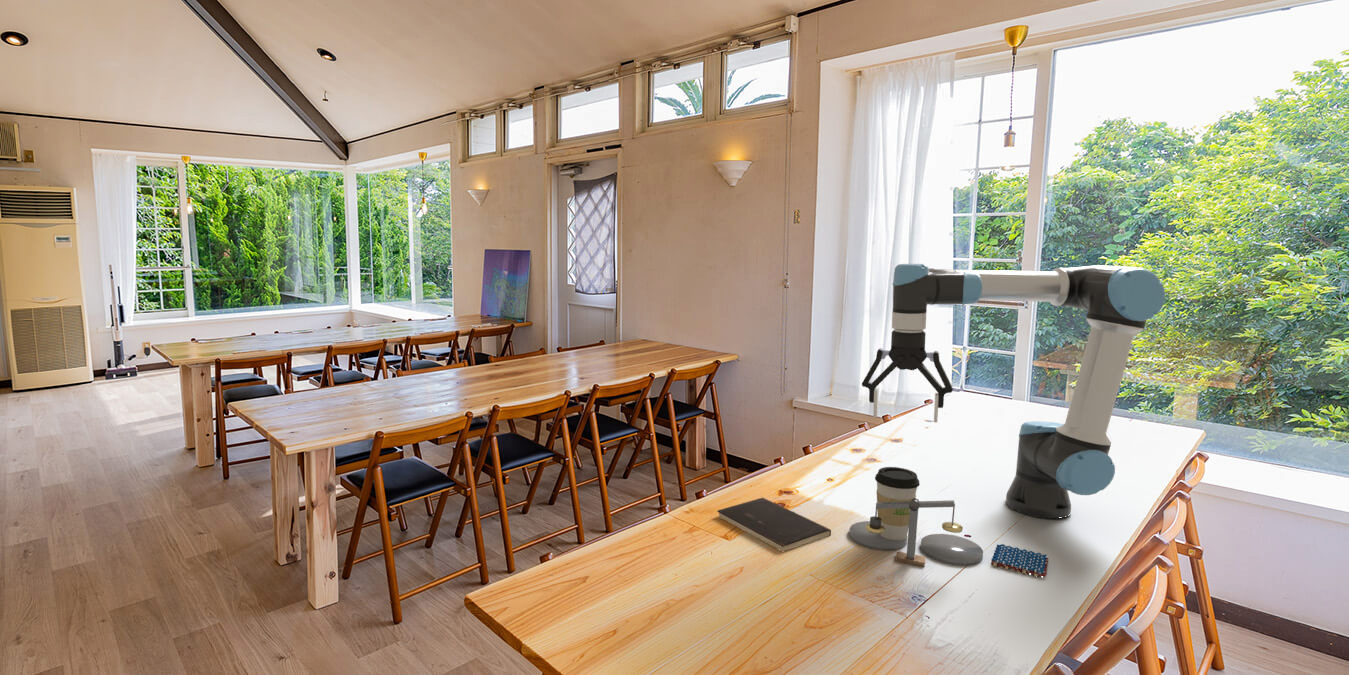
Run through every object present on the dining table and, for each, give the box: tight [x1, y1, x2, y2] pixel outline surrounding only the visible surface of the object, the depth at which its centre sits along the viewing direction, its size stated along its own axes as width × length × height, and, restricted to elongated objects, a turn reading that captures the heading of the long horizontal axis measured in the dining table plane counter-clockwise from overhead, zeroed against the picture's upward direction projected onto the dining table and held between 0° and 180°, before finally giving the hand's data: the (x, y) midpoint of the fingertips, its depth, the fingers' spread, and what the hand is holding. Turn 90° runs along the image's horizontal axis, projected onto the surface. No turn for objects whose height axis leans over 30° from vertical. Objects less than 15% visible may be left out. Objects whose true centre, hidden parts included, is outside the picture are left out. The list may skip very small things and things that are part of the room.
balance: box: [866, 497, 964, 568], centre depth 146 cm, size 20×4×15 cm, turn 66°
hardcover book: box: [716, 497, 832, 552], centre depth 163 cm, size 16×23×2 cm
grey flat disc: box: [920, 533, 984, 566], centre depth 152 cm, size 13×13×1 cm
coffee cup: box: [874, 466, 920, 541], centre depth 156 cm, size 10×10×15 cm
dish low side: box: [849, 520, 908, 551], centre depth 158 cm, size 13×13×1 cm
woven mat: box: [990, 543, 1049, 577], centre depth 147 cm, size 10×11×2 cm
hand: (905, 418), depth 160 cm, fingers open, 13 cm apart
